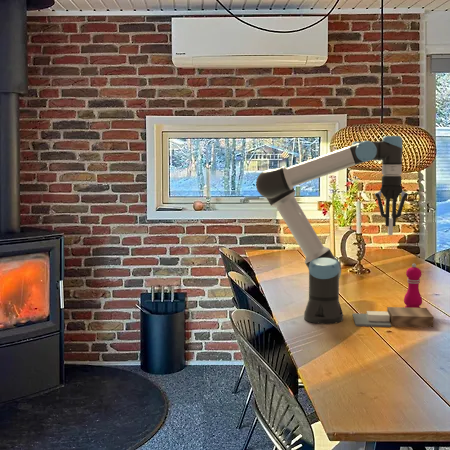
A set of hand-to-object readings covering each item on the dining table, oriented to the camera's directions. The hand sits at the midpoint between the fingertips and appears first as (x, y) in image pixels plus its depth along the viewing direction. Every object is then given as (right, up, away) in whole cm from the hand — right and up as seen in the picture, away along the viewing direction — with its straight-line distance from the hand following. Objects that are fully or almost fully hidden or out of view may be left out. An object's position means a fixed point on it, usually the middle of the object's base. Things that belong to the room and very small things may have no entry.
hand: (390, 234), depth 239 cm
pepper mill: (+11, -32, +7) cm, 34 cm away
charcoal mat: (-9, -34, -6) cm, 35 cm away
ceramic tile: (-7, -33, -7) cm, 34 cm away
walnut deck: (+5, -34, -8) cm, 35 cm away
